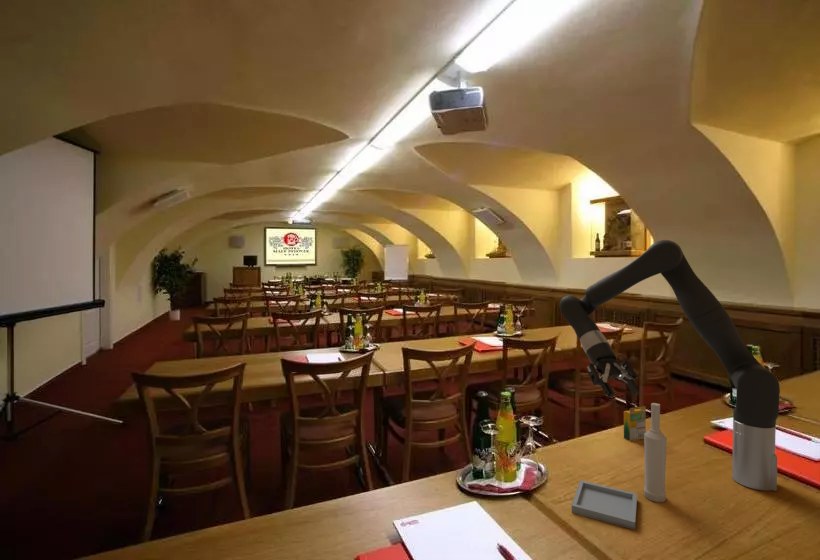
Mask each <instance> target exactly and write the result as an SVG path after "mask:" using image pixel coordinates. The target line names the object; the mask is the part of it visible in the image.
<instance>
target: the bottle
mask: <svg viewBox="0 0 820 560" xmlns="http://www.w3.org/2000/svg"><path fill="white" fill-rule="evenodd" d="M650 411H651V412H650V415H651V418H650V419H651V423H650V425H651V426H650V428H649V429H648V430H647V431H646V433H644V438H643V439H644V442H643V443H644V444H643V445H644V446H643V447H644V450H643V452H644V487H643V495H644V497H645V498H646V499H648V500H649V501H652V502H655V503H663V502H665V501H666V498H667V492H666V470H667V469H666V465H667V463H666V462H667V442H668V441H667V440H668V439H667V436H666V435H665V434H664V433H663V432H662V429H660V428H661V427H660V424H661V423H660V422H661V421H660V420H661V404H660V403H656V402H651V404H650Z"/></svg>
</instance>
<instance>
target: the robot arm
mask: <svg viewBox="0 0 820 560" xmlns="http://www.w3.org/2000/svg"><path fill="white" fill-rule="evenodd" d="M659 274H661V276H662V277H663V278H664V280H665V281H666V282H667V283H668V284H669V286H670V287H671V289H672V290H673V293H674V295H675V298H676V300H677V301H678V304H679V306H680V308H681V310H682V311H683V313H684V315H685V316H686V318H687V320H688V321H689V322H690V324H691V325H692V327H693V328H694V330H695V331H696V332H697V334H699V336H700V338H702V339H703V341H704V342H705V343H706V344H707V346H709V348H710V349H712V351H713V352H714V353H715V354H716V356H717V357H718V358H719V360H720V361H721V363H722V365H723V367H724V369H725V371H726V372H727V375H728V376H729V378H730V380H731V382H732V383H733V386H734V387H735V388H736V397H735V398H736V399H735V401H736V403H735V408H733V412H732V413H733V414H732V466H731V467H732V468H731V472H732V475H731V476H732V479H733V481H734V482H737V484H740V485H741V486H744V487H747V488H750V489H753V490H758V491H775V492H777V491H778V490H777V489H778V456H777V454H776V430H777V429H776V426H777V425H776V423H777V420H778V418H779V412H780V397H781V395H780V393H781V389H780V382H779V380H778V378H777V376H775V374H773V372H771V371H770V370H768V369H767V368H766V367H764V366H763V364H761V363H760V362H759V360H757V359H756V358H755V356H754V355H753V354H752V353H751V351H750V350H749V349H748V348H747V347H746V345H745V343H744V342H743V340H742V338H741V336H740V334H739V331H738V329H737V327H736V325H735V323H734V321H733V320H732V318H731V316H730V315H729V313H728V312H727V311H726V309H725V308H724V306H723V305H722V304H721V302H720V301H719V300H718V298H717V297H716V296H715V295H714V293H713V292H712V291H711V290H710V289H709V287H707V286H706V285H705V283H704V282H702V280H701V278H700V277H698V276H697V274H696V273H695V271H694V270H693V268H692V266H691V265H690V264H689V262H688V260H687V258H686V256H685V254H684V252H683V250H682V248H681V246H680V245H679V244H678V243H677V242H675V241H672V240H668V239H662V240H657V241H656V242H654V243H652V244H651V245H650V246H649V247H648V249H646V250H645V251H644V252H643V253H641V255H640V256H638V257H636V259H634V260H633V261H631V262H630V263H629V264H627V265H625V266H624V267H622V268H620V269H618V270H617V271H615V272H612V273H611V274H609V275H608V274H607V276H605V277H603V278H601V279H599V280H598V281H596V282H595V283H593V284H591V285H589V286H588V287H587V288H586V289H585V291H584V296H583V297H582V298H578V297H576V296H574V295H566V296H564V297H562V298H561V299H560V300H559V306H558V307H559V310H560V313H561V315H562V317H564V319H565V320H566V322H567V323H568V324H569V325H570V326H571V328H572V329H573V331H574V333H575V335H576V337H577V338H578V340H579V342H580V344H581V347H582V349H583V351H584V352H585V354H586V356H587V358H588V360H589V362H590V363H589V364H588V366H586V367H585V371H586V372H587V374H588V376H589V378H590V381H591V383H592V385H593V386H597V385H598V386H600V387H601V389H602V391H603V393H604V394H605V396H606V397H607V398H613V397H614V396H615V392H614V391H613V389H612V387H611V385H610V384H609V382H608V379H612V378H613V379H615V378H616V379H618V380H620V381H622V382H624V383H625V384H626V386H627V387H628V389H629V391H630V393H631V395H633V396H637V394H639V392H640V390H639V387H638V385H637V384H636V382H635V380H636V379H637V378H638V374H637V373H636V371H635V370H634V369H633V367H632V366H631V364H630V363H629V361H627V360H624V361H622V362H619V361H618V360H617V354H616V353H615V351H614V350H613V348H612V346H611V345H610V343H609V341H608V340H607V338H606V336H605V335H604V334H603V333H602V332H601V330H600V327H598V324H597V323H596V322H595V320H594V319H593V318H591V317H590V315H592V314H593V313H594V312H595V311H596V310H598V308H599V307H601V305H603V304H605V303H607V302H608V301H609V302H610V300H612V299H614V298H616V297H617V296H620V295H621V294H623V293H624V292H625V291H627V290H628V289H630V288H632V287H633V286H635V285H637V284H638V283H641V282H643V281H645V280H647V279H649V278H652V277H653V276H656V275H659ZM598 373H599V374H598Z"/></svg>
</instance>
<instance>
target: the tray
mask: <svg viewBox="0 0 820 560" xmlns="http://www.w3.org/2000/svg"><path fill="white" fill-rule="evenodd" d="M637 506H638V493H636V492H631V491H628V490H623V489H619V488H615V487H610V486H608V485H602V484H599V483H593V482H589V481H585V480H581V479H579V482H578V485H577V488H576V492H575V495H574V497H573V500H572V504H571V513H573V514H575V515H580V516H584V517H585V518H586V517H587V518H591V519H594V520H598V521H601V522H606V523H609V524H613V525H616V526H620V527H623V528H626V529H630V530H633V531H635V530H636V522H637V521H636V520H637V508H638V507H637Z"/></svg>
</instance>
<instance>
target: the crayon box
mask: <svg viewBox="0 0 820 560" xmlns="http://www.w3.org/2000/svg"><path fill="white" fill-rule="evenodd" d="M646 407H647V406H646V405H643V406H637V407H630V408H629V410H624V411H623V438H624V439H625V440H626V441H630V442H632V441H636V440H642V439H644V433H646V432H647V431H646V428H647V426H646V422H647V421H646V420H647V419H646V409H647V408H646Z"/></svg>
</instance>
